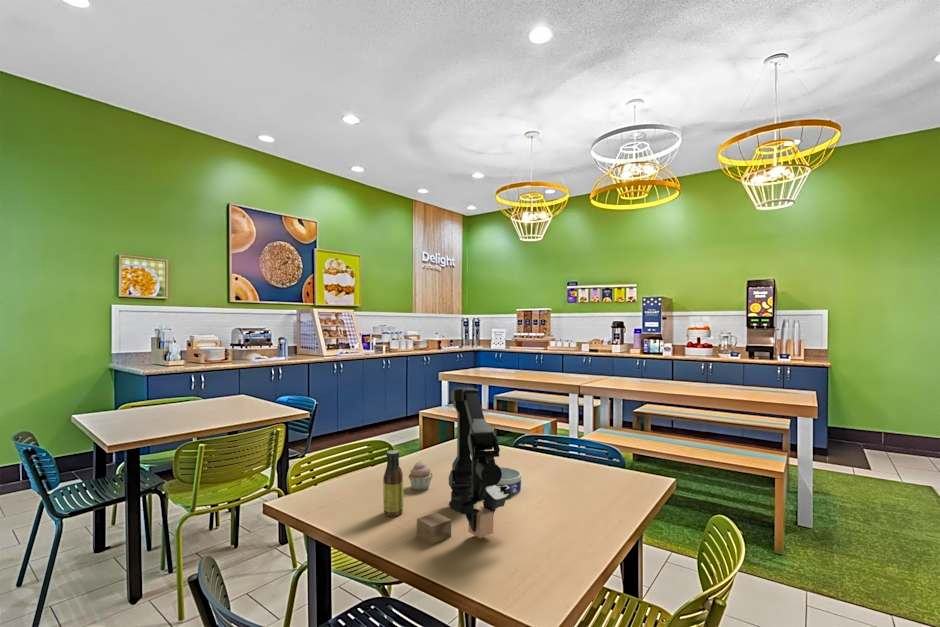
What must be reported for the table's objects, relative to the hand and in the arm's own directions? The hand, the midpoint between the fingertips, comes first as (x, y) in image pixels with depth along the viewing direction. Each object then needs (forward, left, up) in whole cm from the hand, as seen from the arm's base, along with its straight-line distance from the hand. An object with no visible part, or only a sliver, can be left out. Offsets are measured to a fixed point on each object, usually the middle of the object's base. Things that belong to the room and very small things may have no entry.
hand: (480, 528), depth 132 cm
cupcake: (-9, -44, -3) cm, 45 cm away
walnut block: (+10, -9, -3) cm, 14 cm away
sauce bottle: (+11, -30, -3) cm, 32 cm away
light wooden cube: (0, 0, -1) cm, 1 cm away
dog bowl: (-32, -25, -3) cm, 41 cm away
